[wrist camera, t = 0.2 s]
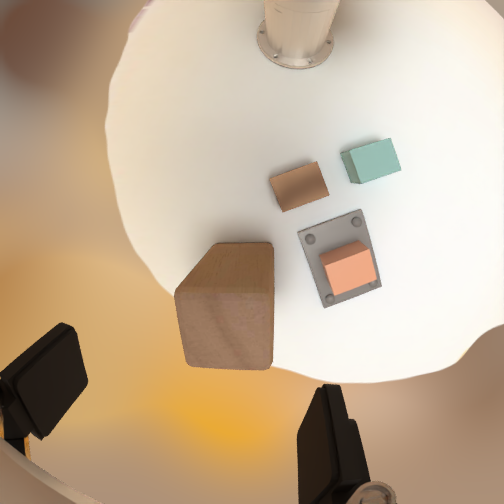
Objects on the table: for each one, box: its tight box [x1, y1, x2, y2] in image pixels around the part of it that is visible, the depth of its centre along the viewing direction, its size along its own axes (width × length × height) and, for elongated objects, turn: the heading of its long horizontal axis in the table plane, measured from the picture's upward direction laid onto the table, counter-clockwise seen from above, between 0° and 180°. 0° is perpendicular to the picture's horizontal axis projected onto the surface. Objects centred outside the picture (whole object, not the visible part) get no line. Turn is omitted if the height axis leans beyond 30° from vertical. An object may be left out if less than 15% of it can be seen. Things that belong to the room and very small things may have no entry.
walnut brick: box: [270, 161, 329, 212], centre depth 39 cm, size 5×7×6 cm
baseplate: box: [298, 209, 382, 308], centre depth 41 cm, size 14×11×6 cm
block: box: [174, 243, 274, 370], centre depth 36 cm, size 10×10×20 cm
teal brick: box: [340, 138, 401, 184], centre depth 37 cm, size 5×7×6 cm
